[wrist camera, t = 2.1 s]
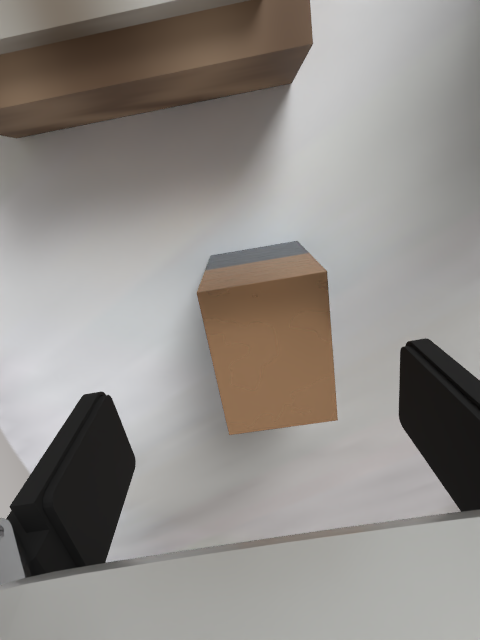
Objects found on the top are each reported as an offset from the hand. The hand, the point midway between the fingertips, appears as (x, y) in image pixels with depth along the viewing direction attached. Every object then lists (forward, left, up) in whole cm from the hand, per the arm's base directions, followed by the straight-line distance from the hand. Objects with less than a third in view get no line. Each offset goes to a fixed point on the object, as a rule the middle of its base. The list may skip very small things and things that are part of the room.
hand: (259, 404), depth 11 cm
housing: (-1, +1, -10) cm, 10 cm away
